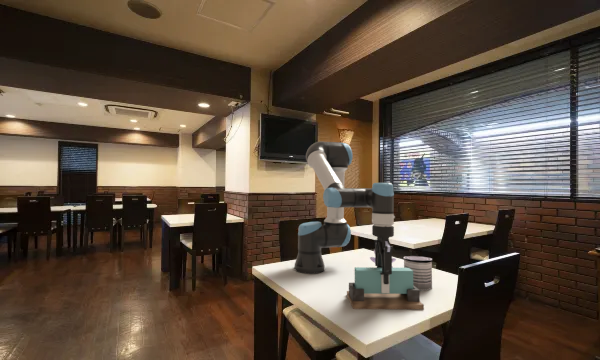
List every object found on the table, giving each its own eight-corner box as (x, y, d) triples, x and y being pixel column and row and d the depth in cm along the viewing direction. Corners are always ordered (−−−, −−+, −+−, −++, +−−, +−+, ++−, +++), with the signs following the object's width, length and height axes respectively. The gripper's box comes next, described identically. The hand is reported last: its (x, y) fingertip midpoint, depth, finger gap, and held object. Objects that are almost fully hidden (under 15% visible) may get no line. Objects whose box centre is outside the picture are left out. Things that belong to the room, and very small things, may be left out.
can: (403, 288, 112) (402, 258, 112) (403, 279, 123) (403, 252, 123) (433, 292, 108) (433, 261, 108) (431, 283, 118) (431, 255, 119)
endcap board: (353, 308, 92) (353, 292, 92) (346, 294, 104) (346, 280, 104) (423, 309, 92) (423, 292, 92) (409, 295, 104) (409, 280, 104)
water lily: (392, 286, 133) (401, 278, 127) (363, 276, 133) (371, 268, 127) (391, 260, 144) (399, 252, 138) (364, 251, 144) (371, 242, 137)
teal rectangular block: (356, 293, 96) (356, 270, 96) (354, 289, 100) (354, 267, 100) (413, 293, 96) (413, 270, 97) (408, 289, 100) (408, 267, 101)
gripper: (402, 228, 91) (402, 299, 90) (385, 222, 108) (386, 282, 107) (379, 228, 91) (379, 299, 90) (366, 222, 108) (366, 282, 107)
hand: (383, 290), depth 98 cm, fingers closed on teal rectangular block, 4 cm apart
